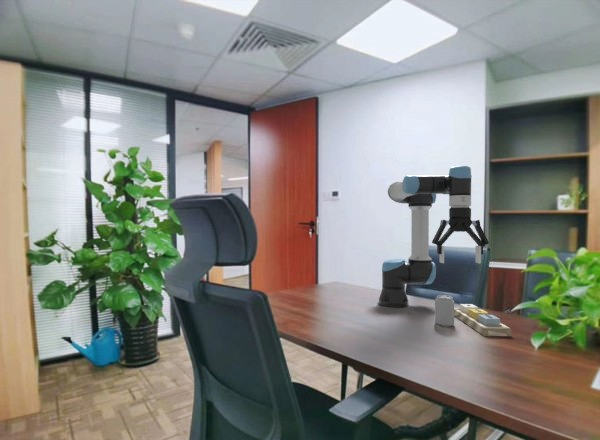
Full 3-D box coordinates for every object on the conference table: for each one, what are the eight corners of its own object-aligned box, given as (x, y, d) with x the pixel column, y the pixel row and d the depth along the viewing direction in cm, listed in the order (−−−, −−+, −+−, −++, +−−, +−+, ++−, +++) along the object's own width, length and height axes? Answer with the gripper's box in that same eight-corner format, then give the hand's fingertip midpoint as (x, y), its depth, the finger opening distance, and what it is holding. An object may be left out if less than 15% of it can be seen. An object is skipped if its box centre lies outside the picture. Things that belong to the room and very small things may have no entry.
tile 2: (468, 315, 146) (468, 308, 146) (481, 316, 146) (481, 308, 146) (474, 319, 141) (474, 312, 141) (488, 319, 140) (488, 312, 140)
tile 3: (478, 321, 137) (478, 314, 137) (492, 322, 137) (492, 314, 137) (485, 326, 132) (485, 318, 132) (499, 326, 132) (499, 318, 132)
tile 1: (459, 310, 155) (459, 303, 155) (472, 310, 155) (472, 303, 155) (465, 313, 149) (465, 306, 149) (478, 314, 149) (478, 306, 149)
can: (434, 325, 141) (434, 297, 141) (435, 320, 147) (436, 293, 147) (453, 328, 137) (453, 299, 137) (454, 323, 144) (454, 295, 144)
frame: (451, 313, 158) (451, 307, 158) (473, 314, 158) (473, 307, 158) (484, 335, 128) (484, 328, 128) (510, 336, 128) (510, 328, 128)
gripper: (430, 206, 124) (430, 264, 124) (499, 206, 123) (498, 264, 123) (423, 207, 132) (423, 261, 132) (488, 207, 131) (488, 261, 131)
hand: (459, 263), depth 128 cm, fingers open, 13 cm apart
